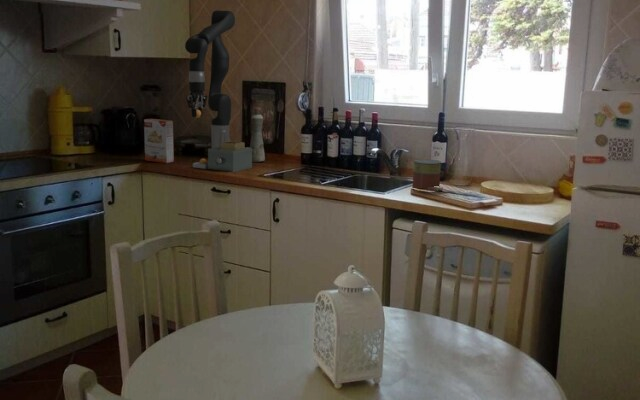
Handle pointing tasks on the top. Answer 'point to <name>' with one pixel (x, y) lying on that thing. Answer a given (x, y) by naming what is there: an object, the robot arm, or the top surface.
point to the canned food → (426, 173)
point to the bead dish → (200, 165)
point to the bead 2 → (203, 161)
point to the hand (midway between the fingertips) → (197, 116)
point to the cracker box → (158, 140)
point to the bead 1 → (198, 113)
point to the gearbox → (230, 157)
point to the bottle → (257, 137)
